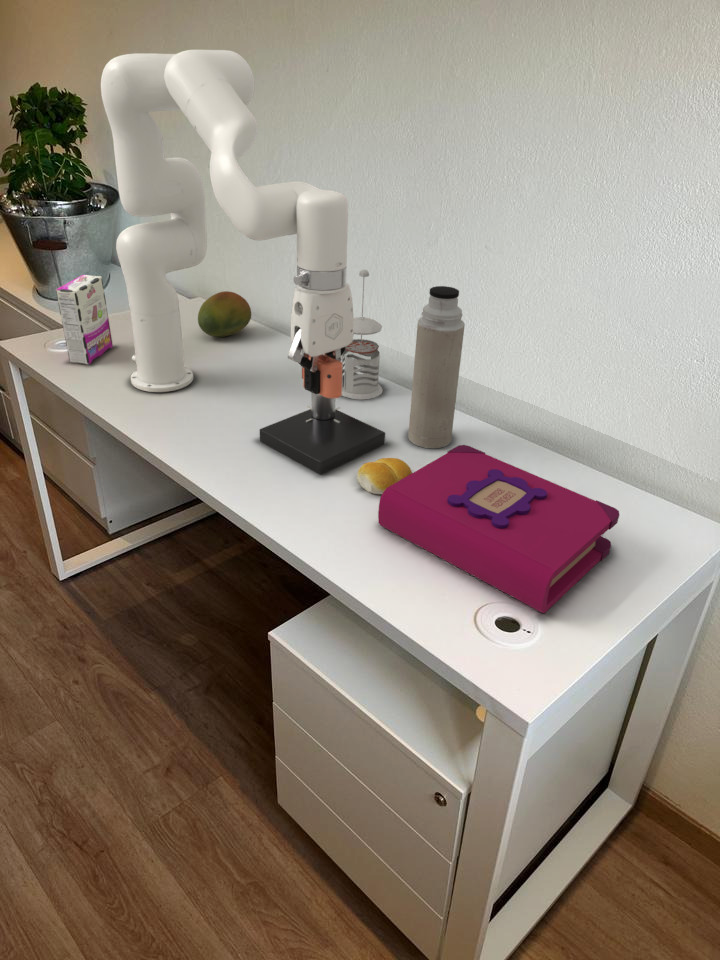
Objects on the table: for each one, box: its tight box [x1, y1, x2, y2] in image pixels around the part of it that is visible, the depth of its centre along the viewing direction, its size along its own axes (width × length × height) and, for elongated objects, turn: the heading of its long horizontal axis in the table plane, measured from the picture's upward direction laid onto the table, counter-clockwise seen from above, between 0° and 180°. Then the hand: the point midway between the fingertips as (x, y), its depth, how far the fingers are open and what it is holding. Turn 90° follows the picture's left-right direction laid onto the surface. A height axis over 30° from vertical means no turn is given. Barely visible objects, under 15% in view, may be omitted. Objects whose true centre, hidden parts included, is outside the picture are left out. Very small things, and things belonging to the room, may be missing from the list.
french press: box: [341, 269, 384, 401], centre depth 147 cm, size 10×12×25 cm
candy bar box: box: [55, 274, 114, 365], centre depth 160 cm, size 11×5×16 cm, turn 168°
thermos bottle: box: [407, 285, 466, 449], centre depth 130 cm, size 8×8×28 cm
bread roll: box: [356, 457, 413, 495], centre depth 122 cm, size 8×9×4 cm
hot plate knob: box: [311, 392, 337, 420], centre depth 136 cm, size 4×4×5 cm
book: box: [377, 444, 620, 614], centre depth 108 cm, size 21×28×8 cm
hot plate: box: [258, 406, 386, 476], centre depth 133 cm, size 17×17×3 cm
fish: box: [301, 354, 344, 399], centre depth 121 cm, size 8×3×6 cm, turn 46°
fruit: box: [197, 290, 252, 338], centre depth 175 cm, size 12×13×10 cm
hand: (320, 387), depth 122 cm, fingers closed on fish, 3 cm apart
